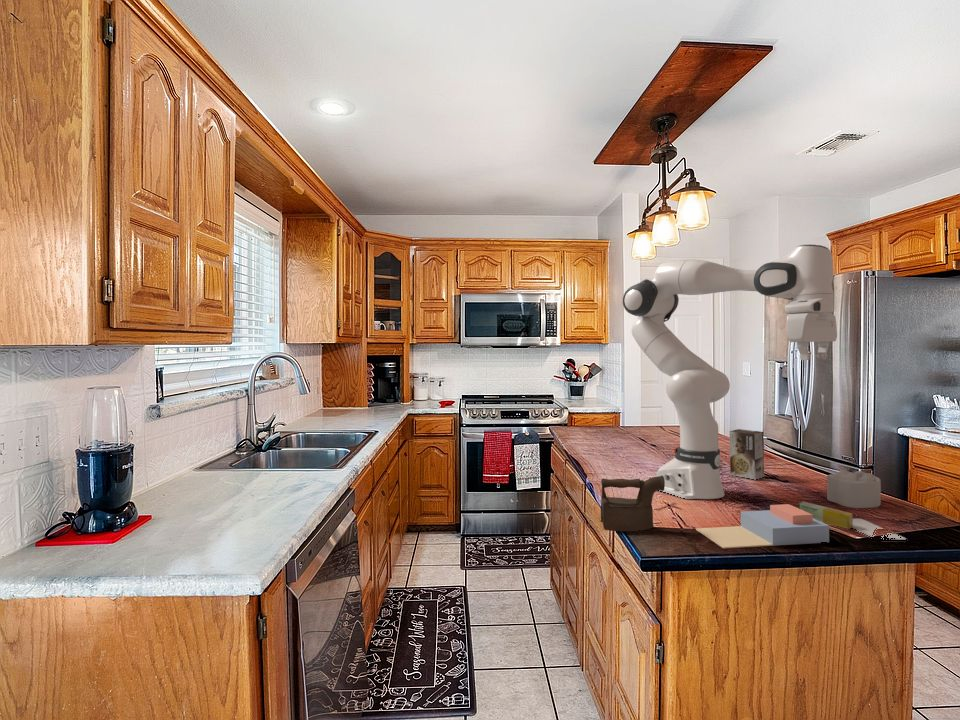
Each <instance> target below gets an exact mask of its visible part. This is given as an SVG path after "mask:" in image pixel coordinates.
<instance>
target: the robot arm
mask: <svg viewBox="0 0 960 720" xmlns="http://www.w3.org/2000/svg"><path fill="white" fill-rule="evenodd" d="M833 259H834V258H833V255H832V251H831V250H830V249H829V248H828V247H826V246H825V245H820V244H819V245H818V244H801V245H798V246H796V247H794V249H793V250H792V251H790V252H789V253H787V254H786V255H783V256H781V257H780V258H777V259H776V260H772V261H770V262H767V263H764V264H762V265H761V266H760V267H759V268H758V269H753V270H752V269H739V268H733V267H729V266H726V265H723V264H720V263H716V262H713V261H708V260H701V259H678V260H677V259H676V260H670V261H665V262H663V263H661V264H659V265H658V266H657V267H656V269H655V272H654V275H653V279H651V280H650V279H648V278H647V279H646V278H645V279H644V280H641V281H640V282H638V283H636V284H634V285H632V286H630V287H629V288H627V289H626V290H625V291H624V294H623V296H622V306H623V308H624V310H625V311H626V312H627V313H629V314H630V315H633V316H635V317H637V320H636V321H634V322H633V324H632V327H631V334H632V337H633V339H634V340H635V342H636V343H637V345H638V346H639V348H640V349H641V350H642V353H644V354H645V356H647V358H648V359H650V361H651V362H652V363H653V365H655V367H656V368H657V369H658V370H659V371H660V372H661V373H663V374H665V375H667V376H669V378H668V380H667V382H666V383H665V384H666V385H665V391H666V394H667V397H668V399H670V401H671V402H672V403H673V405H674V407H675V411H676V415H677V417H678V418H677V419H678V422H679V424H678V425H679V446H678V447H676V448H675V449H673V450H672V452H671V453H672V454H675V455H674V458H672V459H670V460H669V461H668V462H666V463H664V464H663V465H661V466H660V467H659V468H658V470H657V472H656V476H655V477H657V476H663V477H664V480H665V487H664V491H663V492H666V493H665V494H667V493H669V494H668V495H670V494H672V495H671V496H673V495H675V496H674V497H677V496H678V497H677V498H680V497H681V499H683V498H685V499H684V500H696V499H697V500H698V499H699V500H714V499H720V498H723V497H725V495H726V494H725V491H724V489H723V484H722V480H721V479H722V478H721V471H720V470H721V469H720V468H721V449H720V448H719V423H718V422H717V421H716V420H715V418H714V416H713V412H712V409H711V405H710V404H712V403H715V402H717V401H720V400H721V399H722V398H724V397H726V395H727V394H728V393H729V391H730V386H731V385H730V380H729V378H728V377H727V375H726V374H725V373H724V372H722V371H720V370H718V369H716V368H715V367H714V366H712V365H710V364H709V363H708V362H707V361H705V360H704V359H702V357H700V356H699V355H697V354H695V353H694V352H692V351H691V350H690V349H689V348H688V347H687V346H686V345H685V344H684V343H683V342H682V341H681V340H680V339H679V338H678V336H676V335H675V334H674V333H673V332H672V331H671V329H669V328H668V326H667V325H666V324H665V322H667V321H669V320H670V319H671V317H672V315H673V314H674V312H675V311H676V310H677V308H678V306H679V300H680V299H679V295H683V296H684V295H687V296H699V295H700V296H701V295H709V294H717V293H724V292H735V291H740V292H741V291H742V292H743V291H745V292H758V294H760V295H761V296H762V295H763V296H765V297H769V298H775V299H776V298H777V299H784V300H788V301H790V302H789V303H787V304H786V305H785V306H784V313H785V314H786V315H787V316H786V336H787V339H788V341H789V343H796V345H797V350H798V352H799V359H800V361H809V360H811V353H810V352H809V351H810V350H809V346H810V344H809V343H817V346H818V349H817V352H816V359H818V360H826V359H827V355H828V354H827V352H828V351H829V347H830V342H836V341H837V337H838V328H837V318H836V315H835V314H833V313H834V311H835V306H834V305H835V301H834V300H835V298H834V297H835V293H834V290H833V285H832V284H833V280H834V272H835V271H834V260H833ZM658 492H660V490H659V491H658ZM663 492H662V493H663Z"/></svg>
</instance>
